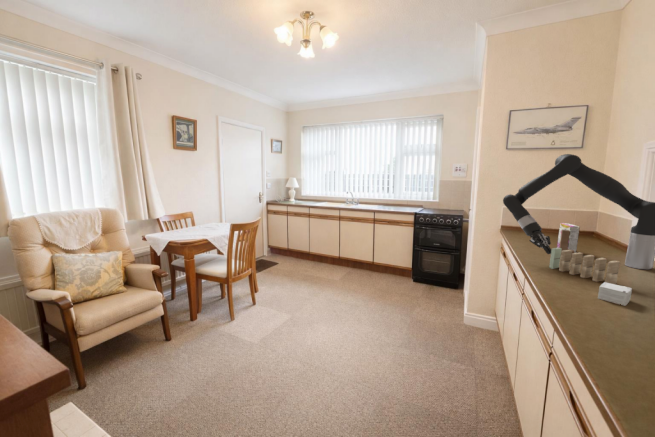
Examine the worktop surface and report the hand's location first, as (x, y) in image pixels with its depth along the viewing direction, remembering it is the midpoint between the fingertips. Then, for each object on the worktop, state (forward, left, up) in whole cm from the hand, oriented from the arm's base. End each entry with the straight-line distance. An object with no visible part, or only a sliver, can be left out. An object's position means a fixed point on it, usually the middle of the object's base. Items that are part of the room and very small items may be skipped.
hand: (550, 253), depth 146 cm
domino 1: (0, +3, -7) cm, 7 cm away
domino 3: (-3, +11, -7) cm, 13 cm away
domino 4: (-4, +16, -7) cm, 17 cm away
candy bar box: (-35, -25, -7) cm, 43 cm away
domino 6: (-6, +24, -7) cm, 26 cm away
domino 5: (-5, +20, -7) cm, 22 cm away
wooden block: (-25, -15, -7) cm, 30 cm away
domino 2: (-2, +7, -7) cm, 10 cm away
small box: (+9, +38, -7) cm, 40 cm away
